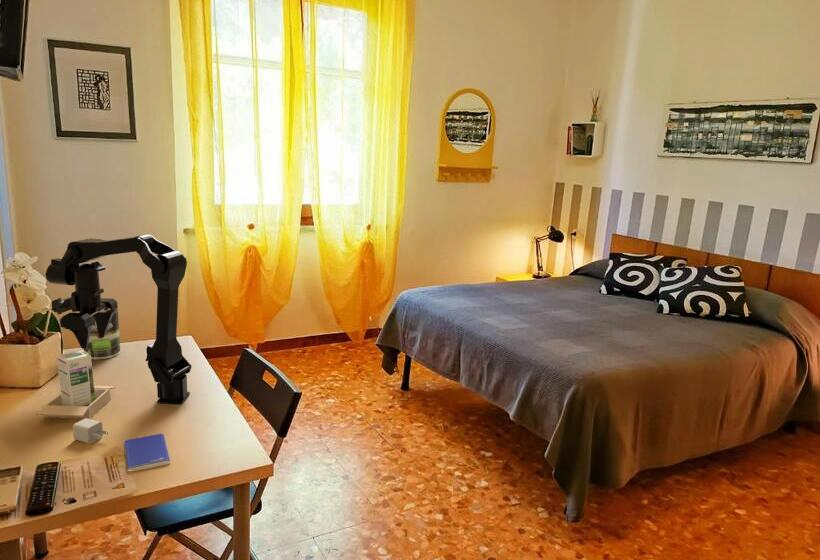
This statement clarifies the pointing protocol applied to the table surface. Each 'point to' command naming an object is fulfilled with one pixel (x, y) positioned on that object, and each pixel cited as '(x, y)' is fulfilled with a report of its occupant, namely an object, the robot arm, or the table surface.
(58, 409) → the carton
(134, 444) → the hard drive
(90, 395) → the syrup box
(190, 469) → the table surface
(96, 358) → the coffee can
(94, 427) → the usb wall charger
